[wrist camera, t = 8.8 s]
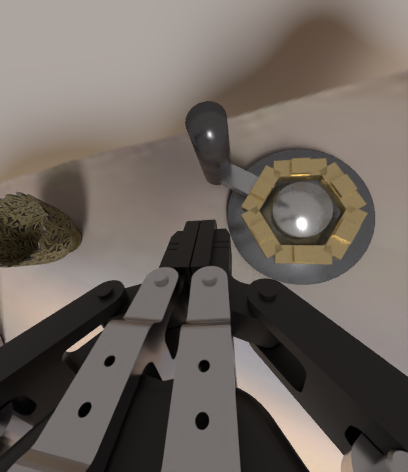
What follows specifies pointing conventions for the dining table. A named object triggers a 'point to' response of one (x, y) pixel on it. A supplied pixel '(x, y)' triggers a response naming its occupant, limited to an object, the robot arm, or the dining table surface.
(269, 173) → the golden ring with handle
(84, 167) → the dining table surface
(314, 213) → the steel flange
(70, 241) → the cup
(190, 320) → the robot arm
